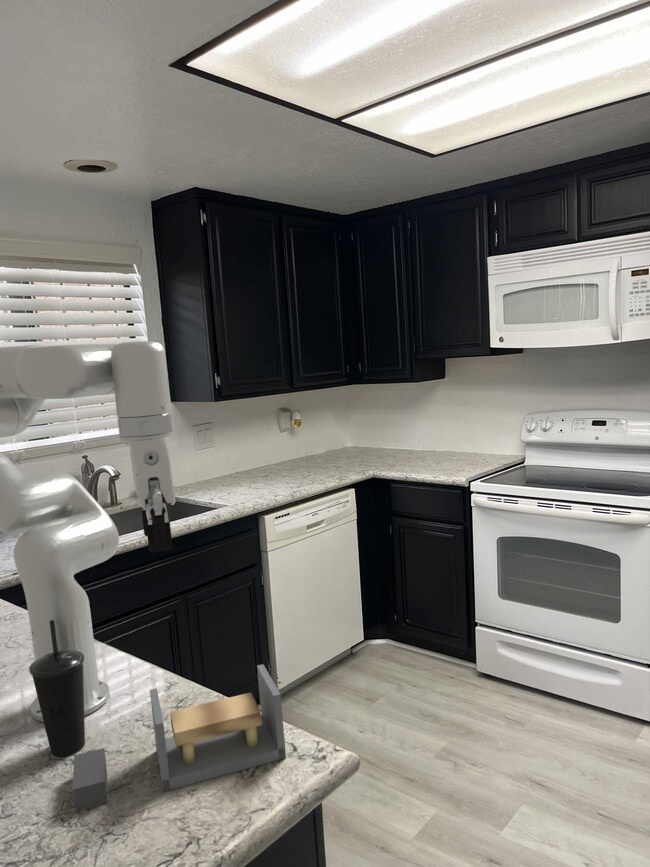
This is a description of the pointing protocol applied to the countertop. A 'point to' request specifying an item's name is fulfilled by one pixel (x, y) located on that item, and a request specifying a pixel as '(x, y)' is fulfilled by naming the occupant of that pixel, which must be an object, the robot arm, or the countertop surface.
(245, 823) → the countertop surface
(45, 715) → the drinking cup
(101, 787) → the block
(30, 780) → the countertop surface
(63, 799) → the countertop surface
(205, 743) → the cabinet stand
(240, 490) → the countertop surface
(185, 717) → the shelf board
